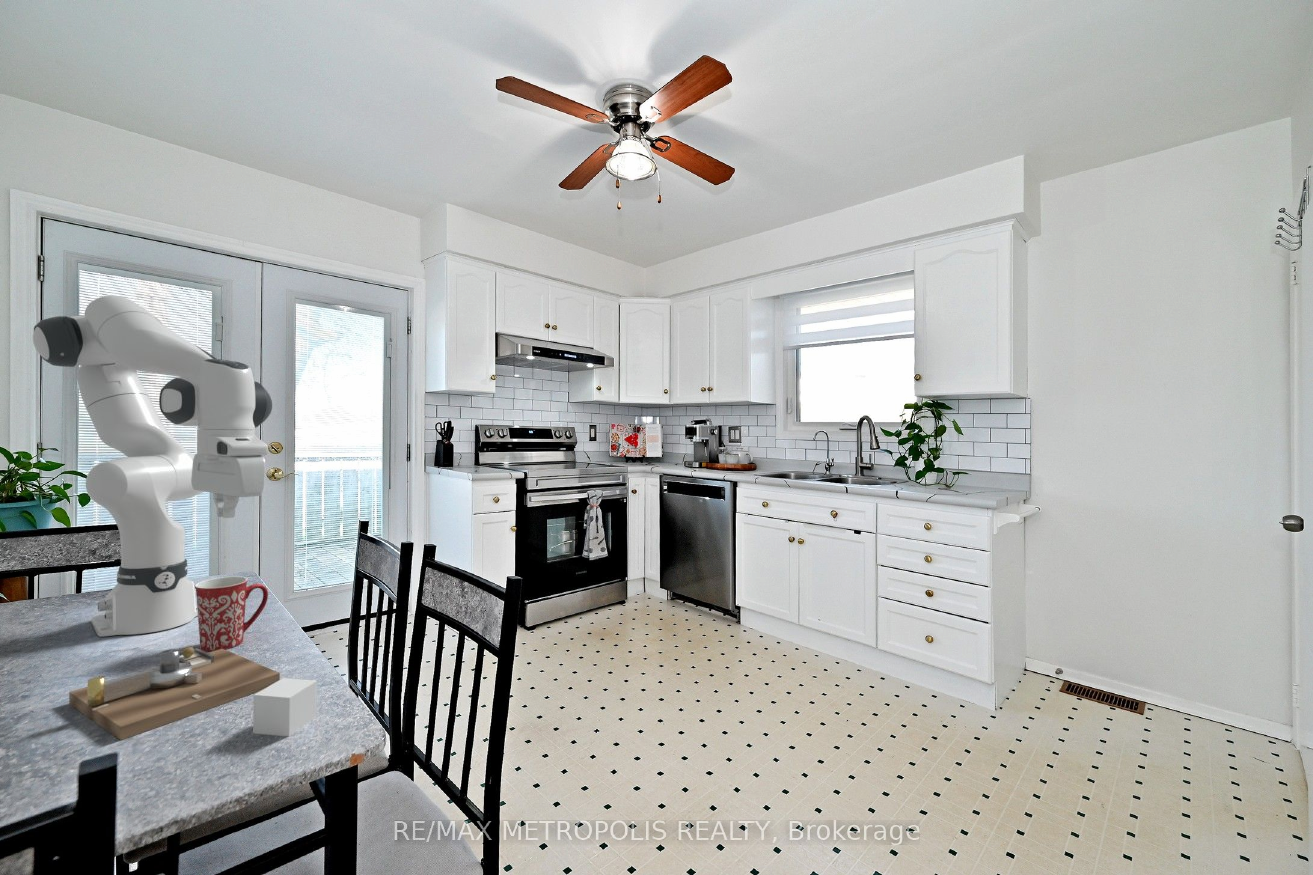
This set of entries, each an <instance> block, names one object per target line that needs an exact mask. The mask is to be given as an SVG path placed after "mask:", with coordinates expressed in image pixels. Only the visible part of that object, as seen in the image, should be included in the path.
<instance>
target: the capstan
mask: <svg viewBox="0 0 1313 875" xmlns="http://www.w3.org/2000/svg"><path fill="white" fill-rule="evenodd" d="M180 656H181V655H180V648H179V649H178V648H173V649H172V648H170V649H165V650H162V651H160V652H159V666H160V667H159V666H157V667H158V668H156V667H154V668H155V669H153V670H152V668H147V669H144V670H139V671H138V672H137V671H136V672H132V673H130V674H126V675H123V676H119V677H116V678H111V679H109V680H106V676H104V675H102V676H101V675H100V676H94V677H91V678H89V679H88V680H87V687H88V706H94V705H99V704H101V703H104V702H106V701H109V700H113V699H116V698H119V697H122V696H126V695H129V694H132V693H135V692H139V691H142V690H145V689H148V688H166V687H171V686H175V685H178V684H181V683H183V682H198V681H200V680H202V673H192V665H191V664H188V663H179V658H180Z"/></svg>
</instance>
